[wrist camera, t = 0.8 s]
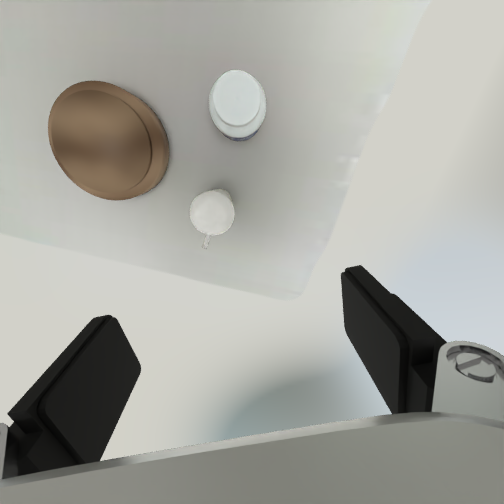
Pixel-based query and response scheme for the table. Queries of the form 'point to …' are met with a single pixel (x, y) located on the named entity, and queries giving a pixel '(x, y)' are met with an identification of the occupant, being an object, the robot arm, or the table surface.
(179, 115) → the table surface
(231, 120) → the pill bottle
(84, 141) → the walnut stand
